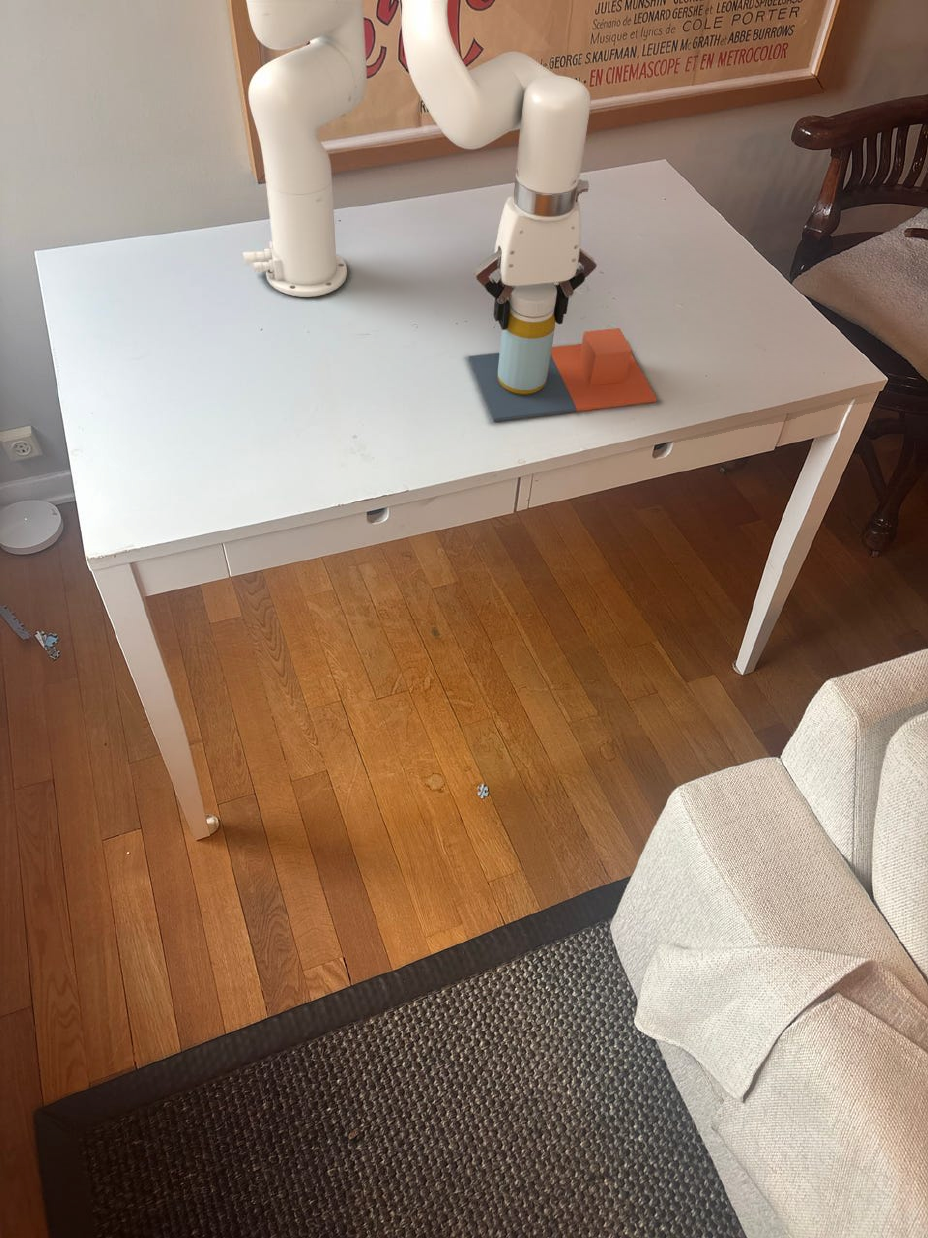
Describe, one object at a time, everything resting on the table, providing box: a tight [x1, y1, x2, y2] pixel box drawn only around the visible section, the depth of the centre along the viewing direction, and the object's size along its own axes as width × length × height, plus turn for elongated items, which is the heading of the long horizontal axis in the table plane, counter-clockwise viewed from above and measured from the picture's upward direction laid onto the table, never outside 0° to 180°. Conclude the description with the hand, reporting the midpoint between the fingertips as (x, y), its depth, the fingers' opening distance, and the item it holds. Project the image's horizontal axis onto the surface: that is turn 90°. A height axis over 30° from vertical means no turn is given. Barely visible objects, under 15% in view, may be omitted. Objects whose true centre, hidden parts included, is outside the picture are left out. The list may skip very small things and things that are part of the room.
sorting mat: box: [468, 343, 658, 423], centre depth 138 cm, size 24×14×1 cm, turn 104°
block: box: [578, 327, 633, 386], centre depth 137 cm, size 5×5×5 cm
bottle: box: [498, 282, 557, 395], centre depth 131 cm, size 7×7×15 cm
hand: (529, 319), depth 129 cm, fingers closed on bottle, 7 cm apart
